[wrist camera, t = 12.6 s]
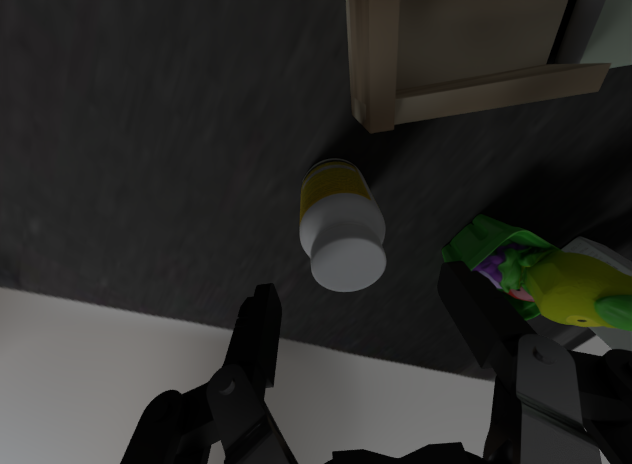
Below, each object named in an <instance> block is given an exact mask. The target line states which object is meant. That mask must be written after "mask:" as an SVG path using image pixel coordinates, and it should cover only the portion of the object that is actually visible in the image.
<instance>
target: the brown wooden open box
mask: <svg viewBox="0 0 632 464" xmlns="http://www.w3.org/2000/svg"><path fill="white" fill-rule="evenodd" d="M567 3H568V0H346V13H347V32H348V51H349V70H350V89H351V108H352V115H353V116H354V117H355V118H356V119H357V120H358V121H359V122H360V123H361V124H362V125H363V126H364V128H365V129H366V130H367V131H368V132H369V133H377V132H383V131H389V130H394V125H396V124H402V123H408V122H414V121H420V120H426V119H433V118H439V117H445V116H451V115H457V114H463V113H469V112H475V111H481V110H487V109H493V108H500V107H506V106H512V105H518V104H524V103H530V102H536V101H542V100H548V99H554V98H560V97H567V96H573V95H579V94H585V93H591V92H597V91H599V89H600V87H601V85H602V83H603V80H604V78H605V76H606V74H607V72H608V70H609V68H610V66H611V64H612V63H583V64H546V63H547V60H548V57H549V54H550V52H551V49H552V46H553V43H554V40H555V37H556V34H557V31H558V29H559V26H560V23H561V20H562V17H563V14H564V11H565V8H566V5H567Z"/></svg>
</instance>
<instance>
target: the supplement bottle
mask: <svg viewBox="0 0 632 464" xmlns="http://www.w3.org/2000/svg"><path fill="white" fill-rule="evenodd" d="M299 230H300V240H301V244H302V246H303V249H304V250H305V252H306V253H307V255H308V256H309V257H310V258H311V271H312V274H313V276H314V278H315V279H316V281H317V282H318V283H319V284H321V285H322V286H324V287H325V288H328V289H330V290H334V291H340V292H351V291H356V290H360V289H363V288H365V287H367V286H369V285H371V284H373V283H374V282H375V281H376V280H377V279H378V278H379V277H380V276H381V275H382V273H383V272H384V270H385V267H386V255H385V252H384V249H383V247H382V243H383V240H384V237H385V222H384V218H383V216H382V213H381V211H380V209H379V207H378V205H377V203H376V201H375V199H374V197H373V195H372V193H371V191H370V189H369V187H368V185H367V183H366V181H365V179H364V177H363V175H362V174H361V172H360V170H359V169H358V168H357V167H356V166H355V165H354V164H352V163H351V162H349V161H347V160H344V159H339V158H331V159H326V160H323V161H320V162H318V163H317V164H315V165H314V166H313V167H312V168H311V169H310V170H309V171H308V172H307V174H306V175H305V177H304V180H303V183H302V188H301V208H300V225H299Z"/></svg>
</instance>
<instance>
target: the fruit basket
mask: <svg viewBox="0 0 632 464" xmlns="http://www.w3.org/2000/svg"><path fill="white" fill-rule="evenodd" d="M442 254H443V257H444V261H445V262H453V261H463V262H464V263H465V264H466V265H467V266H468V268H469V269H470V270H471V271H476V270H477V271H478V272H480V273H481V274H483V275H484V276H486V277H487V278H489V279H490V280H491V282H492V283H493V284H494V285H495V286H496V287H497V290H499V291H500V292H501V293H502V294H503V295H504V298H505V299H507V300H508V301H509V302H510V303H511V305H512V306H513V307H514V308H515V309H516V310H517V311H518V313H519V314H520V315H521V316H522V317H523V318H524V320H529V319H531V318H534V317H536V316H538V315H539V314H542V315H543V316H545V317H546V318H548V319H550V320H553V321H555V322H558V323H562V324H568V325H577V326H582V327H600V326H605V327H608V328H617V329H622V330H627V331H632V276H630V275H627V274H624V273H622V272H620V271H618V270H617V269H615V268H613V267H612V266H610V265H609V264H607V263H605V262H603V261H601V260H599V259H596V258H594V257H591V256H588V255H584V254H580V253H572V252H564V251H562V250H560V249H559V248H557V247H555V246H554V245H552V244H550V243H549V242H547V241H545V240H543V239H542V238H540V237H539V236H537V235H535V234H534V233H532V232H530V231H528V230H525V229H522V228H520V227H513V226H510V225H508V224H505V223H503V222H500V221H498V220H495V219H493V218H490V217H488V216H485V215H482V214H479V215H477V216H476V217H475V218H474V220H473V221H472V223H470V224H469V225H467V226H466V227H465V228H464V229H463V230H461V231H460V232H459V233H458V234H457V235H456V236H455V237H454V238H453V239H452V241H451V242H450V244H448V245H447V246H445V247H444V248H443V249H442Z"/></svg>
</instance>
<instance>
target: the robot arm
mask: <svg viewBox="0 0 632 464" xmlns="http://www.w3.org/2000/svg"><path fill="white" fill-rule="evenodd" d="M437 288H438V293H439V296H440V298H441V300H442V302H443V303H444V305H445V307H446V309H447V310H448V312H449V314H450V315H451V317H452V319H453V321H454V322H455V324H456V326H457V328H458V329H459V331H460V333H461V334H462V336H463V338H464V340H465V341H466V343H467V345H468V346H469V348H470V350H471V352H472V353H473V355H474V357H475V359H476V360H477V362H478V364H479V365H480V367H481V369H485V368H493V369H494V371H495V373H496V374H497V376H496V378H495V386H494V396H493V405H492V414H491V423H490V428H489V432H488V435H487V438H486V441H485V446H484V452H483V458H481V457H479V456H477V455H474V454H472V453H470V452H467V451H465V450H464V448H463V445H462V443H461V442H456V443H442V444H429V445H427V446H425V447H422V448H420V449H418V450H416V451H414V452H412V453H410V454H408V455H405V456H404V457H401V458H393V457H389V456H386V455H382V454H378V453H375V452H371V451H368V450H364V449H360V450H347V451H333V452H332V455H333V459H332V460H330V461H328V462H326V463H325V464H602V463H601V457H600V451H599V449H600V450H601V452H602V453H603V454H604V456H605V457H606V458H607V460H608V461H609V463H610V464H632V351H629V350H624V349H612V350H609V351H608V352H607V353H605V354H604V355H603V356H597V355H592V354H587V353H581V352H576V351H571V350H566V349H565V348H564V347H563V346H561V345H560V344H559V343H557V342H555V341H554V340H552V339H550V338H547V337H545V336H542V335H538V334H537V333H536V332H535V331H534V330H533V329H532V328H531V326H530V325H529V324H528V323H527V322H526V321H525V320H524V318H523V317H522V316H521V315H520V314H519V313H518V311H517V310H516V309H515V308H514V307H513V306H512V305H511V303H510V302H509V301H508V300H507V299H505V298H504V295H503V294H502V293H501V292H500V291H499V290H497V287H496V286H495V285H494V284H493V283H492V282H491V280H490V279H489V278H487V277H486V276H484V275H483V274H481V273H480V272H478V271H477V270H476V271H471V270H470V269H469V268H468V266H467V265H466V264H465V263H464V262H463V261H453V262H445V263H443V264H442V266H441V271H440V276H439V280H438V285H437ZM281 317H282V307H281V302H280V300H279V297H278V294H277V291H276V289H275V286H274V284H273V283H270V284H262V285H257V286H256V289H255V293H254V297H247V299H246V300H245V301H244V303H243V304H242V305H241V307H240V310H239V314H238V317H237V318H238V319H237V320H236V324H235V328H234V330H233V334H232V337H231V341H230V344H229V348H228V351H227V354H226V358H225V361H224V364H223V366H222V368H220V369H219V370H218V371H217V372H216V373H215V374H214V375H213V376H212V378H211V379H210V381H209V382H207V383H205V384H204V385H201V386H199V387H197V388H195V389H192V390H190V391H188V392H186V393H184V394H181V393H179V392H178V391H176V390H168V391H165V392H163V393H161V394H160V395H158V396H157V397H155V398H154V399H153V400H152V401H151V402H150V404H149V405H148V406H147V407H146V409H145V410H144V412H143V414H142V416H141V418H140V420H139V422H138V425H137V427H136V429H135V432H134V434H133V436H132V438H131V440H130V443H129V445H128V447H127V449H126V452H125V454H124V457H123V459H122V461H121V463H120V464H207V463H208V458H209V453H210V449H211V445H212V444H214V443H216V442H218V441H220V440H221V443H222V445H223V449H224V451H225V456H226V457H225V460H224V464H298V462H297V460H296V459H295V457H294V455H293V453H292V452H291V450H290V448H289V446H288V445H287V443H286V441H285V439H284V437H283V435H282V434H281V432H280V430H279V428H278V426H277V424H276V422H275V420H274V418H273V416H272V415H271V413H270V411H269V409H268V407H267V405H266V403H265V401H264V395H265V388H270V387H273V386H274V377H275V369H276V360H277V352H278V343H279V335H280V326H281ZM584 428H585V429H586V431H587V432H586V431H585V429H584Z"/></svg>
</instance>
